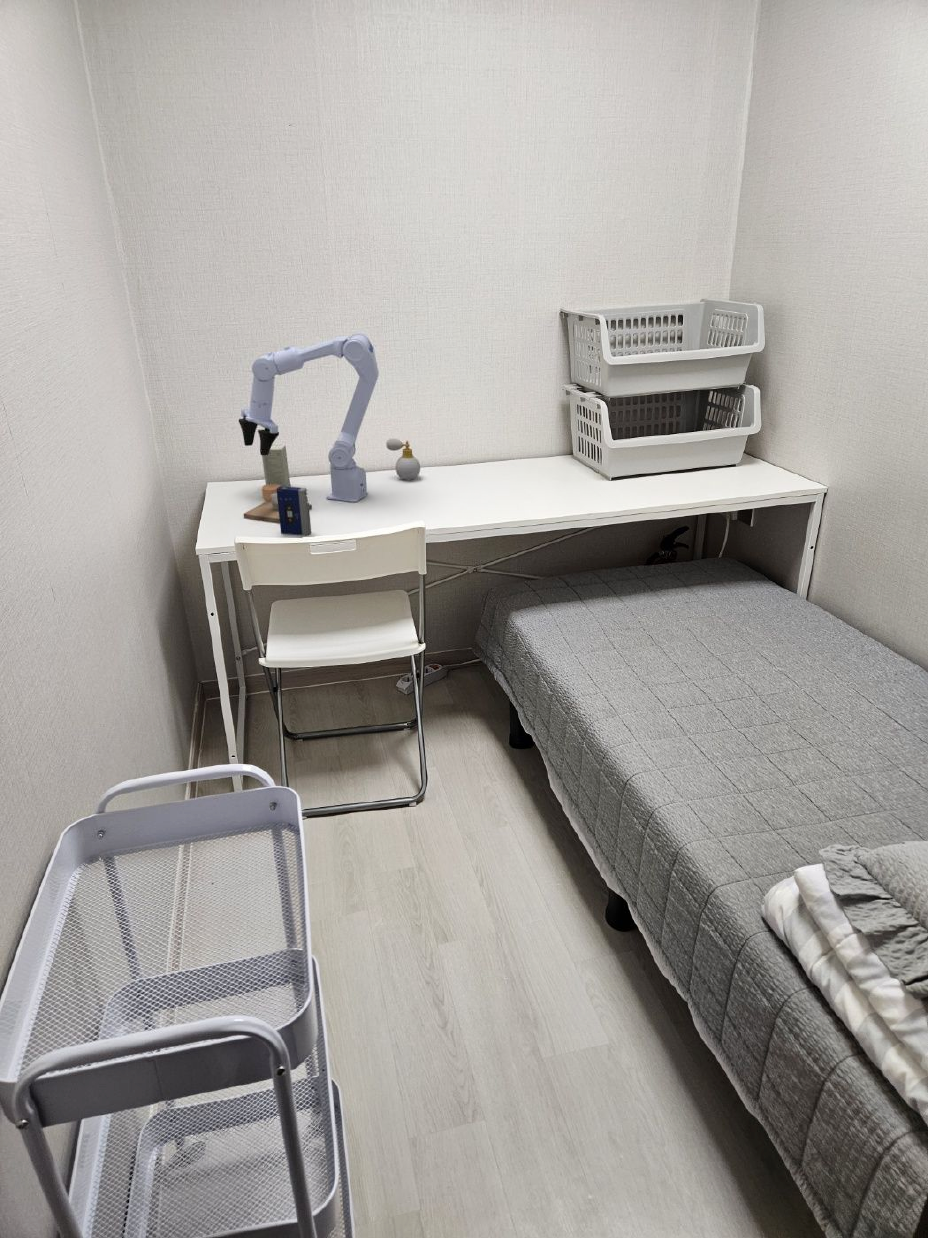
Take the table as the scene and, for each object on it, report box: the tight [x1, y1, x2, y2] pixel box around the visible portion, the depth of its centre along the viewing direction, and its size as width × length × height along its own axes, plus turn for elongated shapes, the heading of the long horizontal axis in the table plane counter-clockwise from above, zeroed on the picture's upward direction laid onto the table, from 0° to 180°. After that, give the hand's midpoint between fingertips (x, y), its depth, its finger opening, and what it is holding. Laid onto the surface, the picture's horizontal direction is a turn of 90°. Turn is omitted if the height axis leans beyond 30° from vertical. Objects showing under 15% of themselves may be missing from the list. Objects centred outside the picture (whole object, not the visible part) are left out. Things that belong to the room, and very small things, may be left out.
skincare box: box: [261, 444, 291, 487], centre depth 239 cm, size 6×4×12 cm
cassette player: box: [276, 486, 312, 536], centre depth 206 cm, size 7×2×12 cm, turn 78°
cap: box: [261, 484, 281, 502], centre depth 232 cm, size 5×5×4 cm
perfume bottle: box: [385, 438, 421, 481], centre depth 247 cm, size 8×10×12 cm
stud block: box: [243, 493, 313, 524], centre depth 221 cm, size 13×13×5 cm
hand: (256, 449), depth 229 cm, fingers open, 7 cm apart
